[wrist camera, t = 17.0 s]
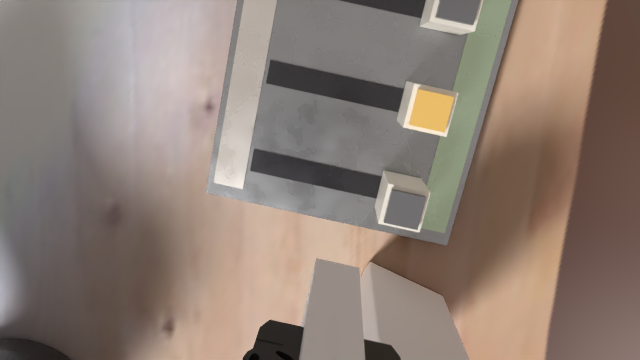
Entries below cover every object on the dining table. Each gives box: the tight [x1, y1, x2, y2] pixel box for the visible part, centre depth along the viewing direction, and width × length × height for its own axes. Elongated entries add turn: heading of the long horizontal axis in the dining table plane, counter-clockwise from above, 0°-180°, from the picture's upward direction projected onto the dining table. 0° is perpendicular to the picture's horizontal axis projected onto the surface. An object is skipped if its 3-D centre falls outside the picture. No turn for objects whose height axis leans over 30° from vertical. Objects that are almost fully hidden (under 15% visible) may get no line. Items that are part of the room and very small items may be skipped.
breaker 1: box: [375, 170, 430, 233], centre depth 37 cm, size 3×3×5 cm
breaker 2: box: [419, 0, 483, 35], centre depth 34 cm, size 3×3×5 cm
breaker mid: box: [397, 81, 458, 137], centre depth 35 cm, size 3×3×5 cm
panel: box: [206, 0, 518, 246], centre depth 39 cm, size 20×21×2 cm
